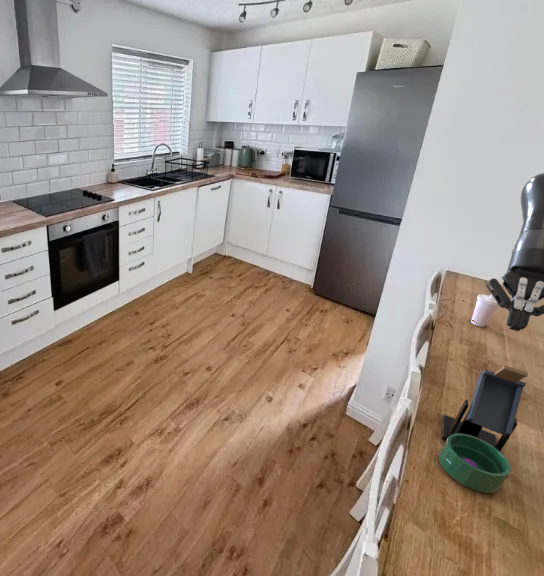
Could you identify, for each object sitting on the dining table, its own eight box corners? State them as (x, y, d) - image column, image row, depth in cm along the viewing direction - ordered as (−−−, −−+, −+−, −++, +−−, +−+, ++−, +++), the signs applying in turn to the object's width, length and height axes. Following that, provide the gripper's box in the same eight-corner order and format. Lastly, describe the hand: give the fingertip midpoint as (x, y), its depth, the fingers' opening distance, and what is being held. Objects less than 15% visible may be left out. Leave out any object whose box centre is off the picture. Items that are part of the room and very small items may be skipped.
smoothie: (490, 324, 124) (510, 287, 118) (488, 331, 120) (508, 292, 114) (467, 317, 128) (485, 280, 122) (464, 323, 124) (482, 285, 118)
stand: (443, 417, 83) (461, 380, 79) (493, 437, 78) (516, 399, 74) (441, 441, 77) (461, 403, 72) (496, 465, 72) (521, 426, 67)
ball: (467, 483, 68) (465, 468, 71) (484, 478, 66) (481, 463, 69) (452, 471, 69) (450, 457, 71) (469, 465, 67) (466, 452, 69)
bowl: (459, 446, 76) (469, 429, 74) (510, 487, 68) (523, 468, 66) (426, 457, 73) (435, 439, 71) (475, 500, 65) (487, 481, 63)
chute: (479, 374, 74) (494, 362, 67) (518, 387, 71) (538, 376, 64) (465, 420, 72) (480, 412, 65) (505, 436, 68) (525, 429, 61)
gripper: (502, 239, 78) (480, 311, 74) (591, 255, 71) (570, 335, 67) (490, 256, 84) (468, 323, 80) (570, 272, 77) (551, 346, 73)
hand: (515, 329), depth 74 cm, fingers closed
